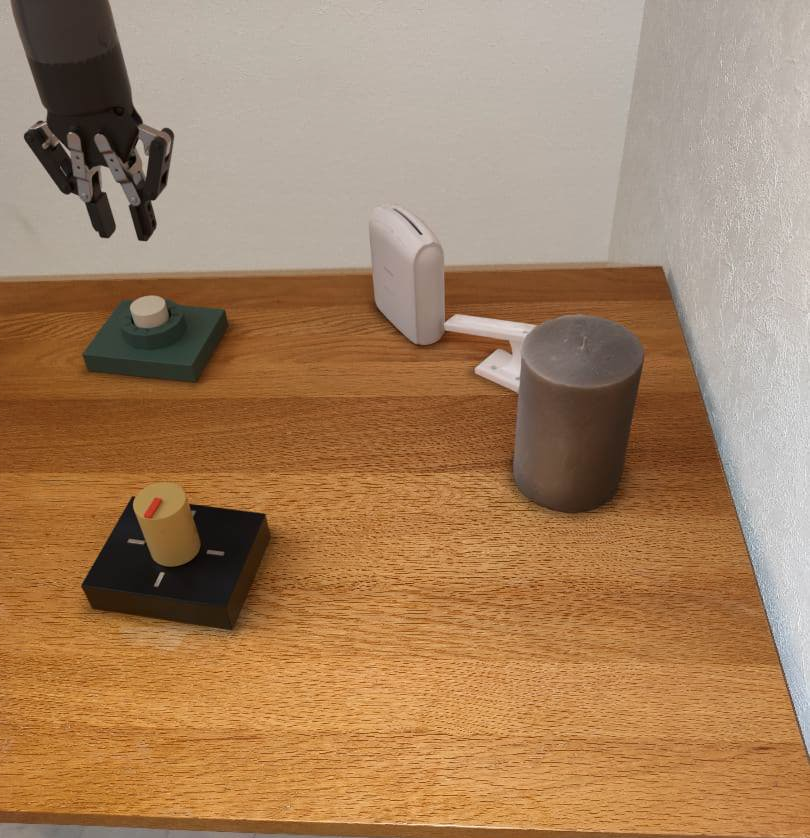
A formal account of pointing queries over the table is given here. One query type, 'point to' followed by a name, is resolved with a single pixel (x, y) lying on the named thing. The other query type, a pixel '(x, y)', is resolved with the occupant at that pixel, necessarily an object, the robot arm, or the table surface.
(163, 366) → the block
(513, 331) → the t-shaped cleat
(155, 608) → the plate
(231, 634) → the table surface
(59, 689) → the table surface
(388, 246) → the photo printer
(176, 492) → the lock knob
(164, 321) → the bell button
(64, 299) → the table surface
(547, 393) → the pillar candle
